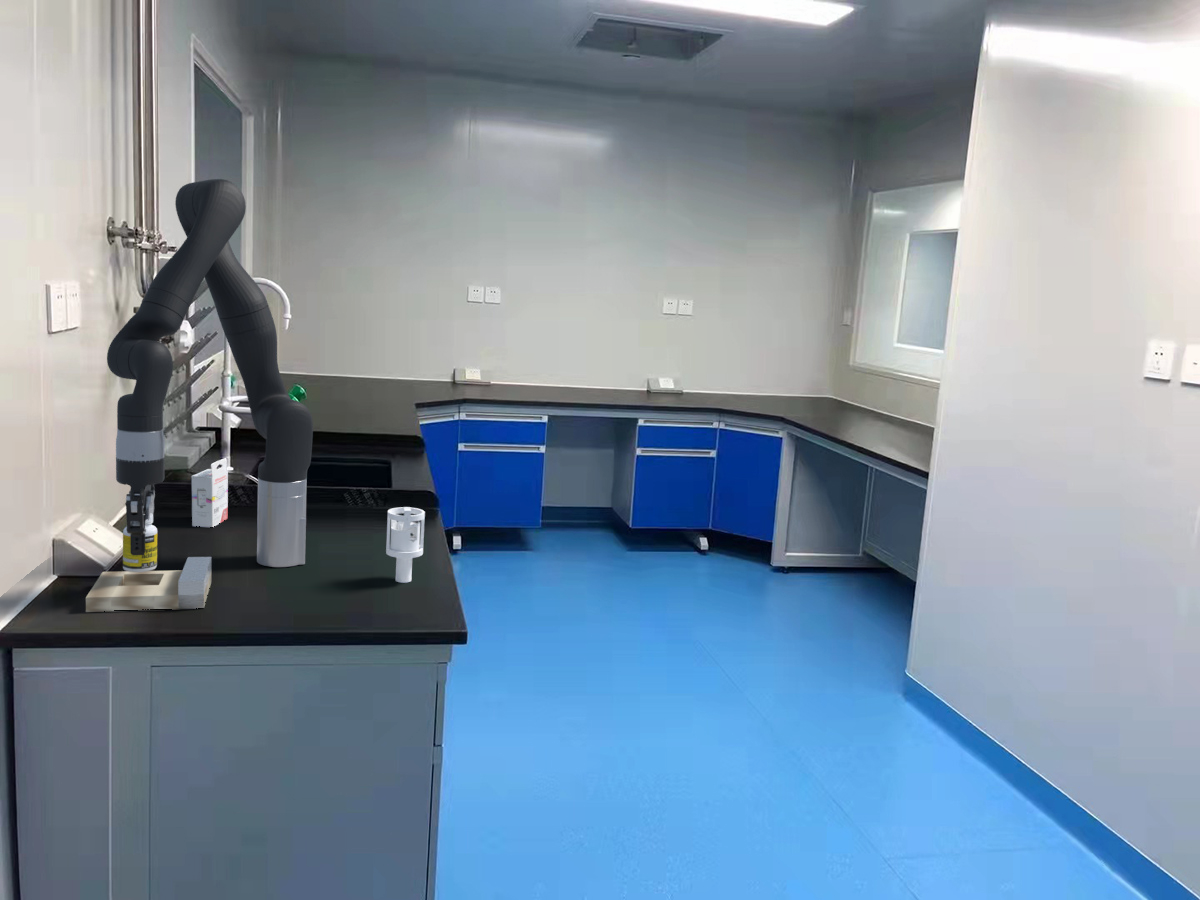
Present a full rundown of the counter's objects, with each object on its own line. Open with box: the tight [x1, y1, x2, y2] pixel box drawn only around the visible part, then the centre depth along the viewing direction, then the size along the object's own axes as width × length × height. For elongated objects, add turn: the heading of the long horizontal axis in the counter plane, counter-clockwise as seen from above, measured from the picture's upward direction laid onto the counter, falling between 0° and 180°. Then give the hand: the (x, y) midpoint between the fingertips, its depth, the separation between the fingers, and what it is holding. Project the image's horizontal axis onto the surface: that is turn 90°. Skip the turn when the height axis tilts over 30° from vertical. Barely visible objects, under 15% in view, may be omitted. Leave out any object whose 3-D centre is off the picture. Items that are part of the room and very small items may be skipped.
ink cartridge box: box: [191, 457, 229, 528], centre depth 211 cm, size 9×5×15 cm, turn 179°
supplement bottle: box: [122, 513, 158, 572], centre depth 162 cm, size 5×5×10 cm
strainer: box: [385, 506, 426, 584], centre depth 181 cm, size 7×7×15 cm
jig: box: [85, 556, 212, 613], centre depth 162 cm, size 18×14×5 cm
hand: (140, 549), depth 163 cm, fingers closed on supplement bottle, 5 cm apart
